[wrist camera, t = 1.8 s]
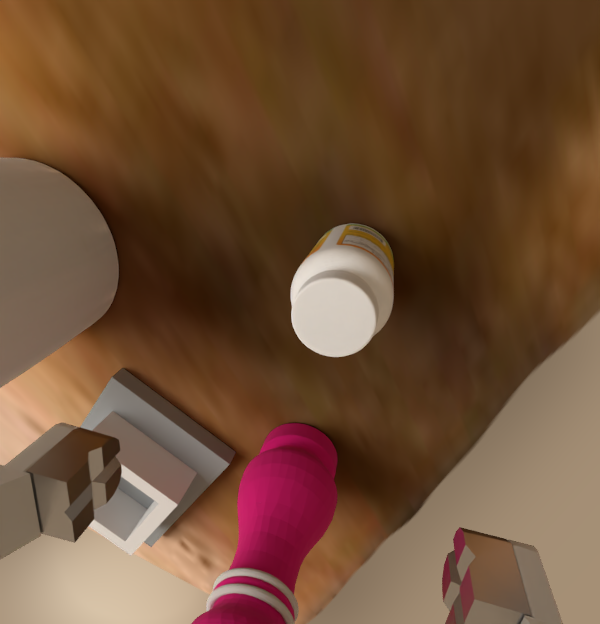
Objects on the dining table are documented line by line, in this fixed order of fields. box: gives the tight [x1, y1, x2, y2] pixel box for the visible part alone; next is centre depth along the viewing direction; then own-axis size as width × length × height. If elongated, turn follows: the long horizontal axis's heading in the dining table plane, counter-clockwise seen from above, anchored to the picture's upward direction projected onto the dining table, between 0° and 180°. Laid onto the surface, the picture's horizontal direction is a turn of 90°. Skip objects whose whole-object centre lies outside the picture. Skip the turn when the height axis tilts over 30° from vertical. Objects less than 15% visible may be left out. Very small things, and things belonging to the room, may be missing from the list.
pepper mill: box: [192, 423, 338, 624], centre depth 26 cm, size 7×7×20 cm
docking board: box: [81, 368, 236, 555], centre depth 37 cm, size 12×15×5 cm
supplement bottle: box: [291, 223, 394, 357], centre depth 24 cm, size 5×5×10 cm
